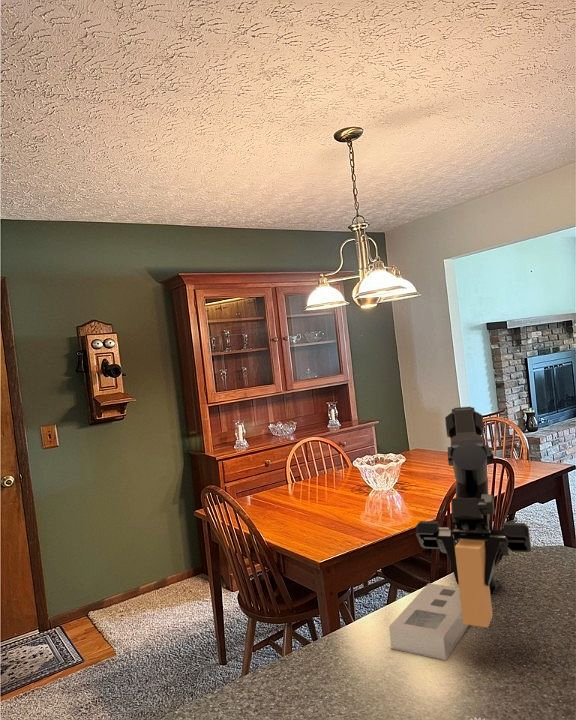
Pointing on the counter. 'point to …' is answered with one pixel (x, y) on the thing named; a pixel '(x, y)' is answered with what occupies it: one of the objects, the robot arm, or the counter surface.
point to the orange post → (473, 582)
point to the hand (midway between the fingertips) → (472, 584)
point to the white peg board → (430, 623)
